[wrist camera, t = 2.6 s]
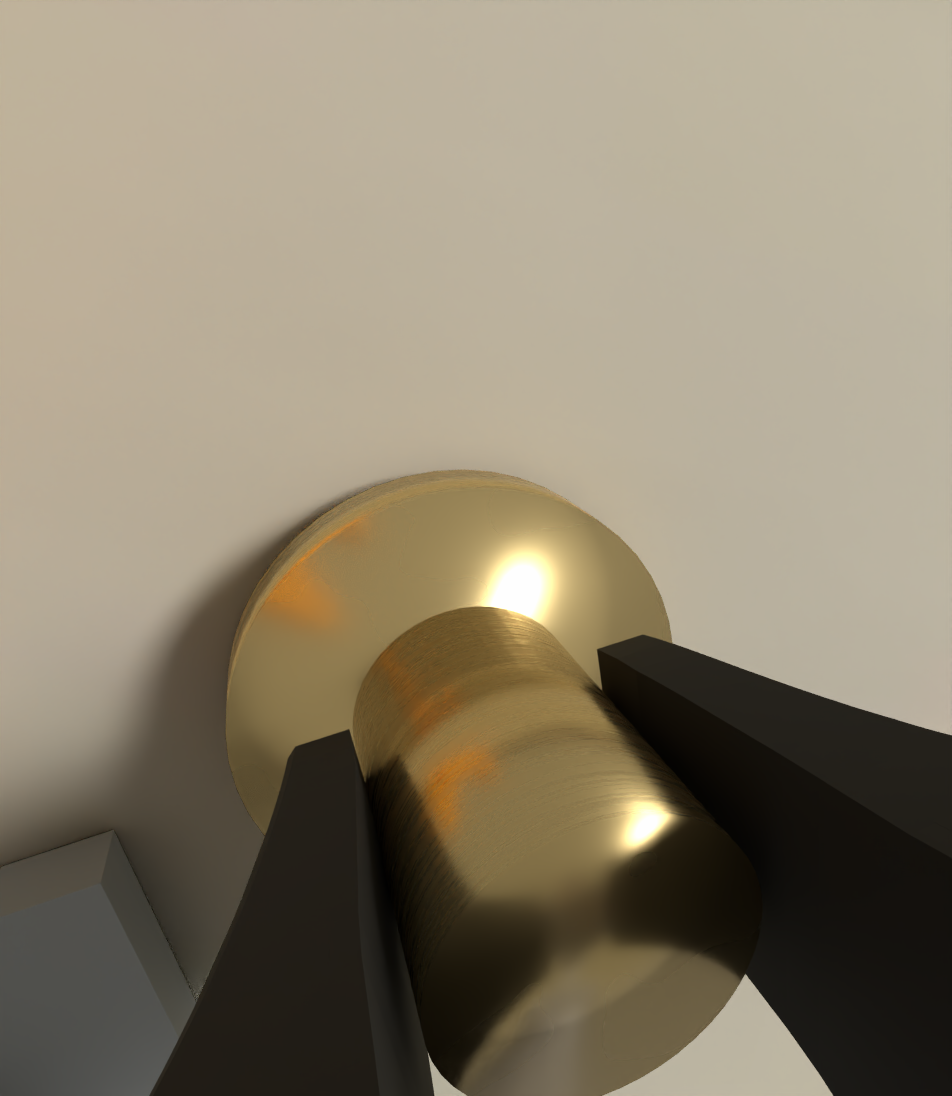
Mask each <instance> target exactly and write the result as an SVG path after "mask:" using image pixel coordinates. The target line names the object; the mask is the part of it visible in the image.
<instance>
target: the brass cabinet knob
mask: <svg viewBox="0 0 952 1096" xmlns="http://www.w3.org/2000/svg"><path fill="white" fill-rule="evenodd" d="M642 634H643V635H647V636H650V637H654V638H657V639H660V640H663V641H667V642H669V643H672V638H671V631H670V625H669V620H668V617H667V613H666V610H665V607H664V604H663V601H662V597H661V595H660V593H659V591H658V589H657V587H656V585H655V583H654V581H653V579H652V577H651V575H650V574H649V572H648V571H647V569H646V568H645V566H644V565H643V563H642V562H641V561H640V559H639V558H638V556H637V555H636V554H635V553H634V552H633V551H632V550H631V549H630V548H629V546H628V545H627V544H626V543H625V542H624V541H623V540H622V539H621V538H620V537H619V536H618V535H616V534H615V533H614V532H612V531H611V530H610V529H609V528H607V527H606V526H605V525H603V524H602V523H601V522H599V521H598V520H597V519H595V518H594V517H592V516H591V515H589V514H588V513H586V512H585V511H583V510H582V509H580V508H579V507H577V506H576V505H574V504H573V503H571V502H570V501H568V500H567V499H565V498H563V497H561V496H559V495H558V494H556V493H554V492H552V491H550V490H548V489H547V488H545V487H543V486H540V485H537V484H535V483H532V482H529V481H526V480H524V479H521V478H518V477H513V476H509V475H504V474H500V473H495V472H488V471H475V470H448V471H433V472H428V473H422V474H417V475H412V476H407V477H403V478H399V479H396V480H393V481H390V482H387V483H384V484H381V485H378V486H375V487H373V488H371V489H369V490H366V491H364V492H362V493H360V494H358V495H356V496H354V497H352V498H349V499H347V500H346V501H344V502H342V503H341V504H339V505H338V506H336V507H335V508H333V509H331V510H330V511H328V512H327V513H325V514H324V515H322V516H320V517H319V518H318V519H317V520H316V521H314V522H313V523H312V524H311V525H310V526H308V527H307V528H306V529H305V530H303V531H302V532H301V533H300V534H299V535H297V536H296V537H295V538H294V539H293V540H292V542H291V543H290V544H289V545H288V546H287V547H286V548H285V549H284V550H283V551H282V552H281V553H280V554H279V556H278V557H277V558H276V559H275V560H274V561H273V563H272V564H271V566H270V567H269V568H268V570H267V571H266V573H265V574H264V575H263V577H262V578H261V580H260V581H259V583H258V584H257V586H256V588H255V590H254V591H253V593H252V595H251V597H250V599H249V601H248V603H247V605H246V607H245V609H244V611H243V613H242V616H241V619H240V622H239V625H238V628H237V631H236V633H235V636H234V640H233V645H232V650H231V655H230V661H229V667H228V686H227V706H226V731H225V736H226V744H227V752H228V760H229V765H230V768H231V772H232V775H233V779H234V782H235V786H236V789H237V791H238V793H239V795H240V797H241V799H242V801H243V803H244V805H245V807H246V810H247V812H248V813H249V815H250V816H251V818H252V819H253V820H254V822H255V823H256V825H257V826H258V828H259V829H260V830H261V832H262V833H263V834H264V835H266V832H267V829H268V826H269V823H270V820H271V817H272V814H273V811H274V808H275V805H276V801H277V798H278V795H279V791H280V788H281V784H282V780H283V777H284V773H285V769H286V764H287V760H288V757H289V756H290V754H291V753H292V751H293V749H294V748H295V746H298V745H301V744H304V743H308V742H311V741H314V740H317V739H320V738H323V737H326V736H329V735H332V734H335V733H339V732H342V731H345V730H348V729H349V730H350V733H351V737H352V740H353V743H354V747H355V750H356V753H357V757H358V760H359V763H360V767H361V770H362V774H363V777H364V780H365V784H366V788H367V792H368V797H369V801H370V805H371V809H372V814H373V818H374V822H375V826H376V831H377V835H378V839H379V843H380V849H381V855H382V861H383V866H384V870H385V875H386V879H387V884H388V888H389V893H390V897H391V901H392V905H393V910H394V914H395V918H396V922H397V927H398V931H399V935H400V940H401V944H402V948H403V952H404V957H405V961H406V965H407V970H408V974H409V978H410V982H411V987H412V991H413V995H414V1000H415V1004H416V1008H417V1012H418V1017H419V1021H420V1025H421V1029H422V1034H423V1038H424V1042H425V1046H426V1049H427V1051H428V1053H429V1056H430V1058H431V1060H432V1062H433V1064H434V1065H435V1067H436V1068H437V1069H438V1071H439V1072H440V1074H441V1075H442V1076H443V1077H444V1078H445V1079H446V1080H447V1081H448V1082H449V1083H450V1084H451V1085H452V1086H453V1087H455V1088H456V1089H458V1090H460V1091H461V1092H463V1093H464V1094H466V1095H467V1096H602V1095H605V1094H607V1093H609V1092H612V1091H614V1090H617V1089H619V1088H622V1087H624V1086H626V1085H628V1084H629V1083H631V1082H633V1081H635V1080H637V1079H639V1078H641V1077H643V1076H645V1075H646V1074H648V1073H649V1072H651V1071H653V1070H654V1069H656V1068H658V1067H659V1066H661V1065H662V1064H664V1063H665V1062H666V1061H668V1060H669V1059H670V1058H672V1057H673V1056H675V1055H676V1054H677V1053H679V1052H680V1051H681V1050H682V1049H683V1048H684V1047H686V1046H687V1045H688V1044H689V1043H690V1042H692V1041H693V1040H694V1039H695V1038H696V1037H697V1036H698V1035H699V1034H700V1033H701V1032H702V1031H703V1030H704V1029H705V1028H706V1027H707V1026H708V1025H709V1024H710V1023H711V1022H712V1021H713V1019H714V1018H715V1017H716V1016H717V1015H718V1013H719V1012H720V1011H721V1010H722V1009H723V1008H724V1006H725V1005H726V1003H727V1002H728V1001H729V999H730V998H731V996H732V995H733V993H734V992H735V991H736V989H737V987H738V985H739V984H740V982H741V980H742V978H743V977H744V975H745V973H746V971H747V969H748V966H749V964H750V962H751V960H752V957H753V955H754V952H755V949H756V945H757V942H758V939H759V934H760V928H761V923H762V896H761V888H760V885H759V881H758V878H757V875H756V872H755V870H754V868H753V866H752V864H751V862H750V860H749V859H748V857H747V856H746V855H745V854H744V852H743V851H742V850H741V849H740V847H739V846H738V845H737V844H736V843H735V842H734V840H733V839H732V838H731V837H730V836H729V835H728V834H727V832H726V831H725V830H724V829H723V828H722V827H721V826H720V824H719V823H718V822H717V821H716V820H715V819H714V818H713V817H712V815H711V814H710V813H709V812H708V811H707V810H706V809H705V807H704V806H703V805H702V804H701V803H700V802H699V801H698V799H697V798H696V797H695V796H694V795H693V794H692V793H691V791H690V790H689V789H688V788H687V787H686V786H685V785H684V783H683V782H682V781H681V780H680V779H679V778H678V777H677V775H676V774H675V773H674V772H673V771H672V770H671V769H670V768H669V766H668V765H667V764H666V763H665V762H664V761H663V760H662V758H661V757H660V756H659V755H658V754H657V753H656V752H655V750H654V749H653V748H652V747H651V746H650V745H649V744H648V742H647V741H646V740H645V739H644V738H643V737H642V736H641V734H640V733H639V732H638V731H637V730H636V729H635V728H634V726H633V725H632V724H631V723H630V722H629V721H628V720H627V719H626V717H625V716H624V715H623V714H622V713H621V712H620V711H619V709H618V708H617V707H616V706H615V705H614V704H613V703H612V701H611V700H610V699H609V698H608V697H607V696H606V695H605V693H604V692H603V691H602V684H601V677H600V669H599V662H598V654H597V649H599V648H602V647H605V646H608V645H611V644H614V643H618V642H621V641H624V640H627V639H630V638H633V637H636V636H639V635H642Z"/></svg>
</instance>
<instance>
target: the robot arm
mask: <svg viewBox="0 0 952 1096" xmlns="http://www.w3.org/2000/svg"><path fill="white" fill-rule="evenodd" d="M597 654H598V662H599V669H600V677H601V684H602V691H603V692H604V693H605V695H606V696H607V697H608V698H609V699H610V700H611V701H612V703H613V704H614V705H615V706H616V707H617V708H618V709H619V711H620V712H621V713H622V714H623V715H624V716H625V717H626V719H627V720H628V721H629V722H630V723H631V724H632V725H633V726H634V728H635V729H636V730H637V731H638V732H639V733H640V734H641V736H642V737H643V738H644V739H645V740H646V741H647V742H648V744H649V745H650V746H651V747H652V748H653V749H654V750H655V752H656V753H657V754H658V755H659V756H660V757H661V758H662V760H663V761H664V762H665V763H666V764H667V765H668V766H669V768H670V769H671V770H672V771H673V772H674V773H675V774H676V775H677V777H678V778H679V779H680V780H681V781H682V782H683V783H684V785H685V786H686V787H687V788H688V789H689V790H690V791H691V793H692V794H693V795H694V796H695V797H696V798H697V799H698V801H699V802H700V803H701V804H702V805H703V806H704V807H705V809H706V810H707V811H708V812H709V813H710V814H711V815H712V817H713V818H714V819H715V820H716V821H717V822H718V823H719V824H720V826H721V827H722V828H723V829H724V830H725V831H726V832H727V834H728V835H729V836H730V837H731V838H732V839H733V840H734V842H735V843H736V844H737V845H738V846H739V847H740V849H741V850H742V851H743V852H744V854H745V855H746V856H747V857H748V859H749V860H750V862H751V864H752V866H753V868H754V870H755V872H756V875H757V878H758V881H759V885H760V888H761V896H762V923H761V928H760V934H759V939H758V942H757V945H756V949H755V952H754V955H753V957H752V960H751V962H750V964H749V966H748V969H747V971H746V973H745V974H746V975H747V976H748V978H749V979H750V980H751V982H752V983H753V984H754V985H755V987H756V988H757V989H758V991H759V992H760V993H761V995H762V996H763V997H764V999H765V1000H766V1001H767V1002H768V1004H769V1005H770V1006H771V1008H772V1009H773V1010H774V1012H775V1013H776V1014H777V1016H778V1017H779V1018H780V1019H781V1021H782V1022H783V1023H784V1025H785V1026H786V1027H787V1029H788V1030H789V1032H790V1033H791V1034H792V1036H793V1037H794V1039H795V1040H796V1041H797V1043H798V1044H799V1046H800V1047H801V1048H802V1050H803V1051H804V1053H805V1054H806V1056H807V1057H808V1058H809V1060H810V1061H811V1063H812V1064H813V1065H814V1067H815V1068H816V1070H817V1071H818V1072H819V1074H820V1076H821V1077H822V1079H823V1080H824V1082H825V1083H826V1085H827V1086H828V1088H829V1090H830V1091H831V1093H832V1094H833V1096H952V736H951V735H948V734H944V733H940V732H936V731H933V730H929V729H925V728H922V727H919V726H915V725H912V724H908V723H905V722H902V721H898V720H895V719H892V718H888V717H885V716H882V715H878V714H875V713H872V712H868V711H865V710H862V709H858V708H855V707H852V706H849V705H846V704H843V703H840V702H837V701H833V700H830V699H827V698H824V697H821V696H818V695H815V694H812V693H809V692H806V691H803V690H801V689H798V688H795V687H792V686H789V685H786V684H783V683H781V682H778V681H775V680H772V679H769V678H766V677H764V676H761V675H758V674H755V673H752V672H750V671H747V670H744V669H741V668H739V667H736V666H733V665H731V664H728V663H725V662H722V661H720V660H717V659H714V658H711V657H709V656H706V655H703V654H700V653H698V652H695V651H692V650H689V649H687V648H684V647H681V646H678V645H675V644H672V643H669V642H667V641H663V640H660V639H657V638H654V637H650V636H647V635H643V634H642V635H639V636H636V637H633V638H630V639H627V640H624V641H621V642H618V643H614V644H611V645H608V646H605V647H602V648H599V649H597ZM149 1096H434V1090H433V1084H432V1077H431V1071H430V1064H429V1058H428V1051H427V1049H426V1046H425V1042H424V1038H423V1034H422V1029H421V1025H420V1021H419V1017H418V1012H417V1008H416V1004H415V1000H414V995H413V991H412V987H411V982H410V978H409V974H408V970H407V965H406V961H405V957H404V952H403V948H402V944H401V940H400V935H399V931H398V927H397V922H396V918H395V914H394V910H393V905H392V901H391V897H390V893H389V888H388V884H387V879H386V875H385V870H384V866H383V861H382V855H381V849H380V843H379V839H378V835H377V831H376V826H375V822H374V818H373V814H372V809H371V805H370V801H369V797H368V792H367V788H366V784H365V780H364V777H363V774H362V770H361V767H360V763H359V760H358V757H357V753H356V750H355V747H354V743H353V740H352V737H351V733H350V730H349V729H348V730H345V731H342V732H339V733H335V734H332V735H329V736H326V737H323V738H320V739H317V740H314V741H311V742H308V743H304V744H301V745H298V746H295V748H294V749H293V751H292V753H291V754H290V756H289V757H288V760H287V764H286V769H285V773H284V777H283V780H282V784H281V788H280V791H279V795H278V798H277V801H276V805H275V808H274V811H273V814H272V817H271V820H270V823H269V826H268V829H267V832H266V835H265V838H264V841H263V844H262V846H261V849H260V852H259V854H258V857H257V860H256V862H255V865H254V868H253V870H252V873H251V876H250V878H249V881H248V884H247V886H246V889H245V892H244V894H243V897H242V900H241V902H240V905H239V907H238V910H237V912H236V914H235V917H234V919H233V921H232V924H231V926H230V928H229V930H228V933H227V935H226V937H225V939H224V942H223V944H222V946H221V949H220V951H219V953H218V955H217V958H216V960H215V962H214V964H213V967H212V969H211V971H210V973H209V976H208V978H207V980H206V982H205V985H204V987H203V989H202V991H201V994H200V996H199V998H198V1000H197V1002H196V1004H195V1006H194V1009H193V1011H192V1013H191V1015H190V1017H189V1019H188V1021H187V1023H186V1025H185V1027H184V1029H183V1031H182V1033H181V1035H180V1037H179V1039H178V1041H177V1043H176V1045H175V1047H174V1049H173V1051H172V1053H171V1055H170V1057H169V1059H168V1061H167V1063H166V1065H165V1067H164V1069H163V1071H162V1073H161V1074H160V1076H159V1078H158V1080H157V1082H156V1084H155V1086H154V1088H153V1089H152V1091H151V1093H150V1095H149Z"/></svg>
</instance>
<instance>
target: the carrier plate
mask: <svg viewBox="0 0 952 1096" xmlns="http://www.w3.org/2000/svg"><path fill="white" fill-rule="evenodd" d="M195 1004H196V1001H195V999H194V997H193V994H192V992H191V990H190V988H189V986H188V984H187V982H186V980H185V978H184V976H183V974H182V972H181V969H180V967H179V965H178V963H177V961H176V959H175V957H174V955H173V953H172V951H171V949H170V946H169V944H168V942H167V940H166V938H165V936H164V934H163V932H162V930H161V928H160V926H159V924H158V921H157V919H156V917H155V915H154V913H153V911H152V909H151V907H150V905H149V903H148V901H147V898H146V896H145V894H144V892H143V890H142V888H141V886H140V884H139V882H138V880H137V878H136V876H135V873H134V871H133V869H132V867H131V865H130V863H129V861H128V859H127V857H126V855H125V853H124V850H123V848H122V846H121V844H120V842H119V840H118V838H117V836H116V834H115V832H114V830H111V831H108V832H105V833H102V834H99V835H96V836H93V837H90V838H87V839H84V840H81V841H78V842H75V843H72V844H69V845H66V846H63V847H60V848H57V849H54V850H51V851H47V852H44V853H41V854H38V855H35V856H32V857H29V858H26V859H23V860H20V861H17V862H14V863H11V864H8V865H5V866H2V867H0V1096H149V1095H150V1093H151V1091H152V1089H153V1088H154V1086H155V1084H156V1082H157V1080H158V1078H159V1076H160V1074H161V1073H162V1071H163V1069H164V1067H165V1065H166V1063H167V1061H168V1059H169V1057H170V1055H171V1053H172V1051H173V1049H174V1047H175V1045H176V1043H177V1041H178V1039H179V1037H180V1035H181V1033H182V1031H183V1029H184V1027H185V1025H186V1023H187V1021H188V1019H189V1017H190V1015H191V1013H192V1011H193V1009H194V1006H195Z"/></svg>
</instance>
